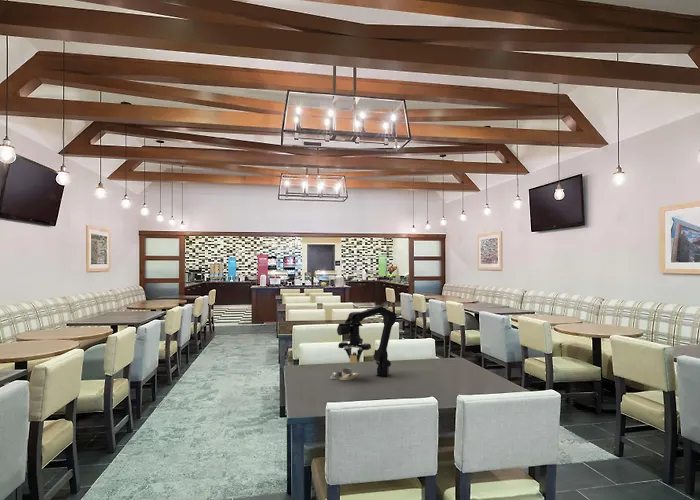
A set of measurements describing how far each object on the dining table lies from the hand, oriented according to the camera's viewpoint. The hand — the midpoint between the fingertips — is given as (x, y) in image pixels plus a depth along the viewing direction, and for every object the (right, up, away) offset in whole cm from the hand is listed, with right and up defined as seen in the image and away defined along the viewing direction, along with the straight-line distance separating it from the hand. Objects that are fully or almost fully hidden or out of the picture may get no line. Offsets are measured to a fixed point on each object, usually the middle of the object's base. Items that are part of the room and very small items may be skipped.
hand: (354, 360), depth 253 cm
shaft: (-11, -10, +2) cm, 15 cm away
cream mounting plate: (-6, -11, +6) cm, 14 cm away
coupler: (0, -1, 0) cm, 1 cm away
